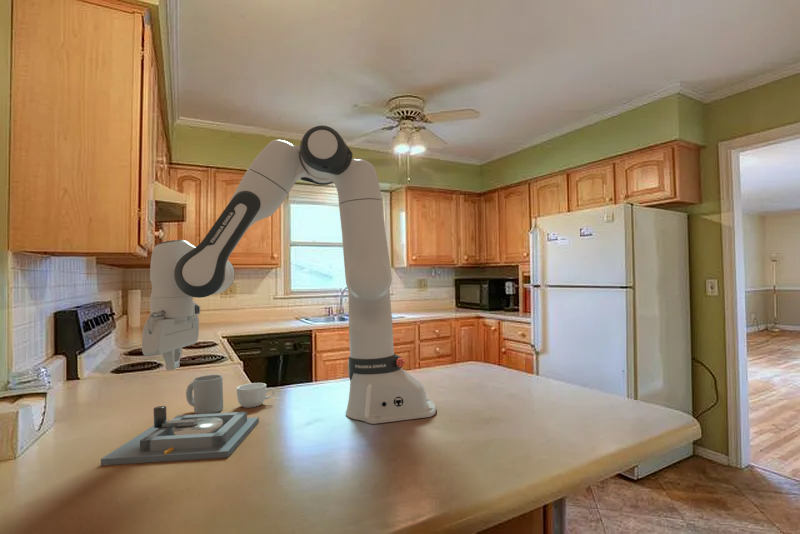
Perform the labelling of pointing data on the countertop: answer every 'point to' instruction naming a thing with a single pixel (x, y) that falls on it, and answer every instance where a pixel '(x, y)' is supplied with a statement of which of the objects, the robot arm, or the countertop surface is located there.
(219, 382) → the cup
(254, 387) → the teacup
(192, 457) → the panel
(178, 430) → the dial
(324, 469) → the countertop surface
